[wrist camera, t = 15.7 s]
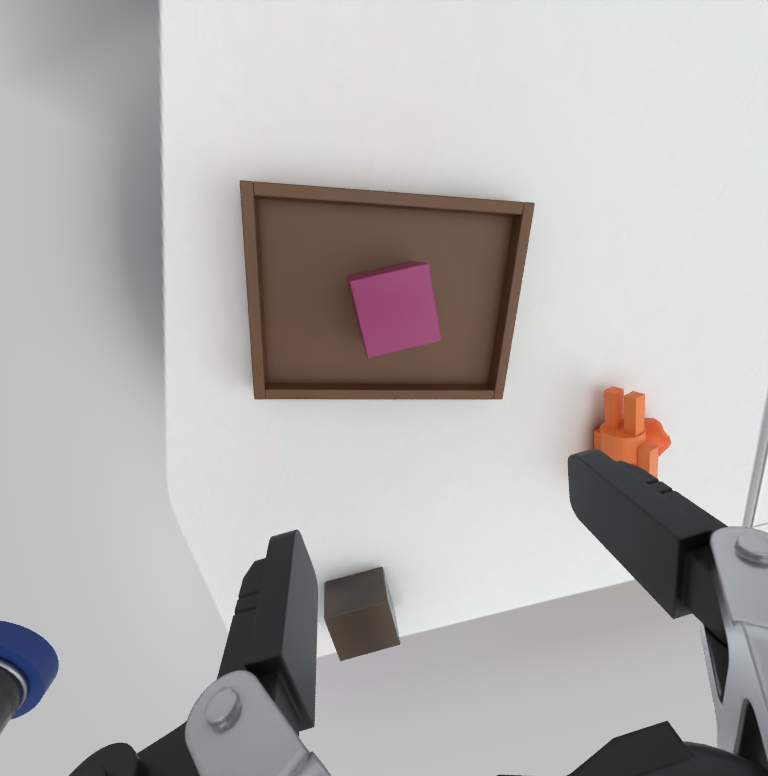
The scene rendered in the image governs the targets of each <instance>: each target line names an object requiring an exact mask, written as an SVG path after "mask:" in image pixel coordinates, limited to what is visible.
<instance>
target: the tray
mask: <svg viewBox="0 0 768 776" xmlns="http://www.w3.org/2000/svg"><path fill="white" fill-rule="evenodd" d="M240 193H241V208H242V223H243V237H244V252H245V267H246V282H247V297H248V312H249V327H250V342H251V357H252V372H253V387H254V399H265V398H266V399H502V398H503V392H504V386H505V380H506V374H507V368H508V362H509V356H510V350H511V344H512V338H513V331H514V325H515V319H516V313H517V307H518V301H519V295H520V289H521V283H522V277H523V271H524V265H525V259H526V253H527V247H528V241H529V235H530V229H531V223H532V217H533V211H534V205H535V204H534V203H528V202H524V203H523V202H516V201H502V200H489V199H476V198H463V197H450V196H437V195H424V194H411V193H398V192H385V191H371V190H358V189H345V188H332V187H319V186H306V185H293V184H280V183H267V182H252V181H241V180H240ZM410 261H416V262H423V263H429V268H430V274H431V280H432V286H433V292H434V298H435V305H436V311H437V317H438V323H439V329H440V336H441V341H438V342H434V343H430V344H425V345H421V346H417V347H413V348H409V349H405V350H401V351H397V352H392V353H388V354H384V355H380V356H376V357H372V358H368V357H367V354H366V351H365V348H364V345H363V342H362V338H361V334H360V330H359V326H358V322H357V318H356V313H355V309H354V305H353V301H352V297H351V293H350V288H349V284H348V280H347V276H350V275H354V274H358V273H363V272H367V271H371V270H375V269H380V268H384V267H388V266H393V265H397V264H401V263H406V262H410Z"/></svg>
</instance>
